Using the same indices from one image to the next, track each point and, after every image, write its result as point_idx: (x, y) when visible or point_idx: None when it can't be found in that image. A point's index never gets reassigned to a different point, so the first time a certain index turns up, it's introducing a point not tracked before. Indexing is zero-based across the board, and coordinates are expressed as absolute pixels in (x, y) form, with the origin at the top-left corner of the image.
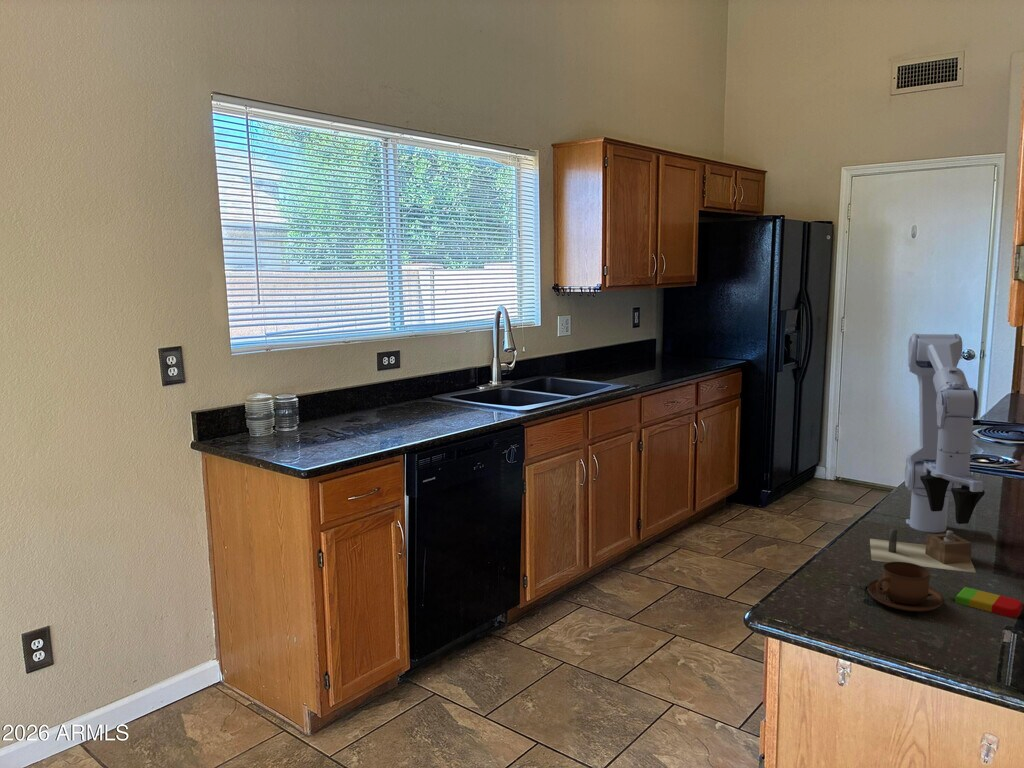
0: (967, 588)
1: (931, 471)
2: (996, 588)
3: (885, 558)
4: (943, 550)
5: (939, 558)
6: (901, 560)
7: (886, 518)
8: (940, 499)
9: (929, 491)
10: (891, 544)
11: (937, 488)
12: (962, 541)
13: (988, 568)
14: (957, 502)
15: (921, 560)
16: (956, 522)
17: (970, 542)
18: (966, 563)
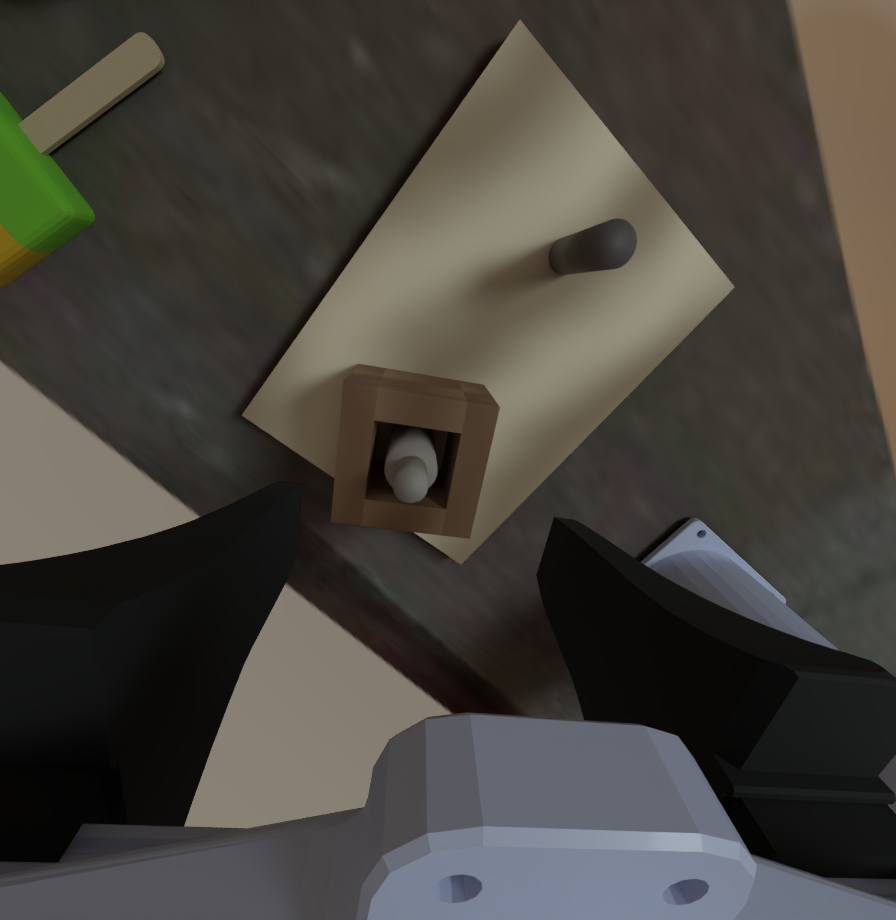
0: (37, 200)
1: (847, 890)
2: (139, 400)
3: (507, 133)
4: (357, 375)
5: (388, 371)
6: (455, 199)
7: (844, 560)
8: (569, 622)
9: (647, 593)
10: (573, 234)
11: (628, 682)
12: (360, 498)
13: (325, 523)
14: (166, 547)
15: (424, 300)
16: (300, 484)
17: (338, 522)
18: None
